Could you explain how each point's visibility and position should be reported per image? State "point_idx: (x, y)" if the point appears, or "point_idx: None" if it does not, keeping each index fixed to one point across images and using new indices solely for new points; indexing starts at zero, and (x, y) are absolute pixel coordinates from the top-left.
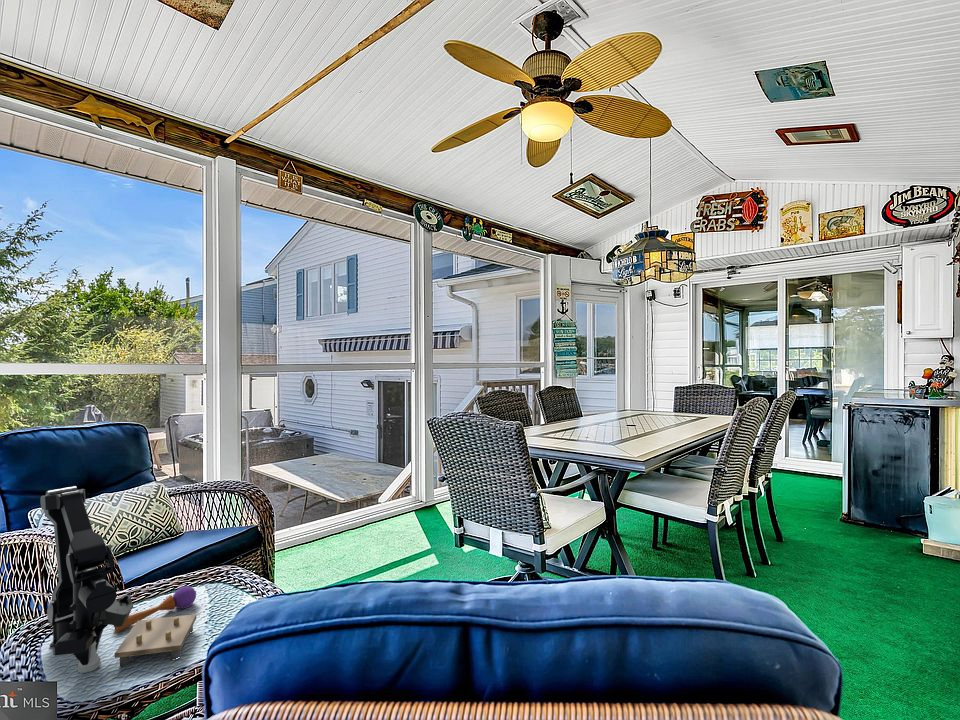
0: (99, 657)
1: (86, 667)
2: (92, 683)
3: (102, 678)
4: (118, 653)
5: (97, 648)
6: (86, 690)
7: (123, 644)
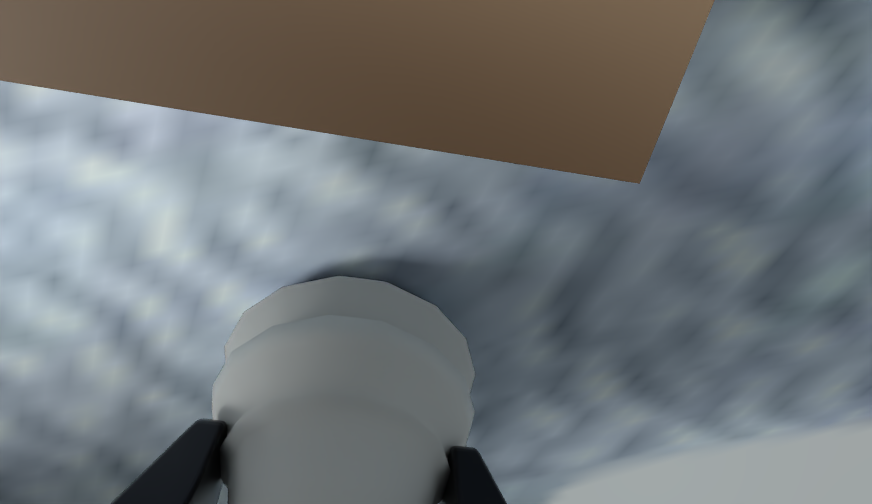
0: (306, 352)
1: (470, 421)
2: (741, 265)
3: (699, 177)
4: (667, 73)
5: (148, 469)
6: (856, 293)
7: (183, 16)
